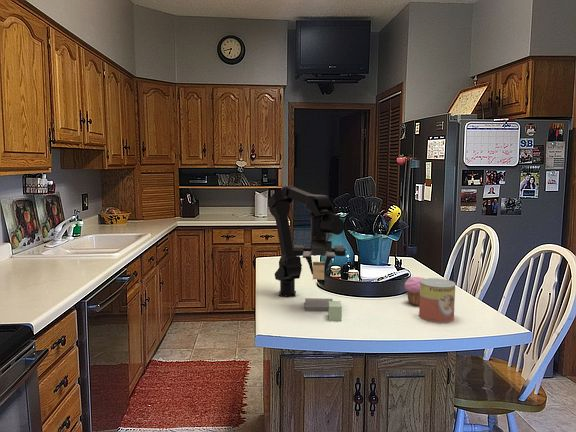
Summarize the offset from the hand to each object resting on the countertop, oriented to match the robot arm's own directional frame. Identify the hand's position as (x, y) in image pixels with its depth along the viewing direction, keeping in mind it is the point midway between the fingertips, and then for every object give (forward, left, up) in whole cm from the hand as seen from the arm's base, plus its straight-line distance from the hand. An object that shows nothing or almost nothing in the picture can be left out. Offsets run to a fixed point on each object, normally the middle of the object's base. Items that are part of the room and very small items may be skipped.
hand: (318, 274), depth 166 cm
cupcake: (-5, +36, -12) cm, 39 cm away
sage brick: (+12, +5, -12) cm, 18 cm away
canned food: (+10, +39, -12) cm, 42 cm away
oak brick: (0, 0, -1) cm, 1 cm away
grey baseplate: (0, 0, -12) cm, 12 cm away
